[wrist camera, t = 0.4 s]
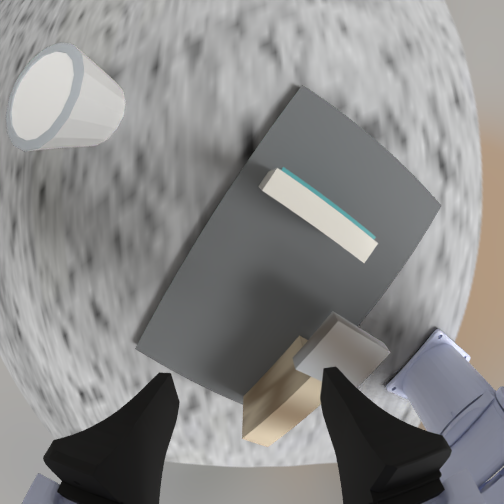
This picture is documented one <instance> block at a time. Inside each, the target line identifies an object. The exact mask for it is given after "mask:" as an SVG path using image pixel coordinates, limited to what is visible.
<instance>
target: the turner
mask: <svg viewBox="0 0 504 504" xmlns="http://www.w3.org/2000/svg"><path fill="white" fill-rule="evenodd" d="M390 353H391V352H390V351H389V349H388V348H387V346H386V345H385V344H384V343H383V342H382V341H380V340H378V339H377V338H375V337H374V336H372V335H370V334H369V333H367V332H366V331H364V330H362V329H361V328H359V327H357V326H356V325H354V324H353V323H351V322H349V321H348V320H346V319H345V318H343V317H341V316H340V315H338V314H337V313H335V312H333V311H332V313H331V314H330V315H329V316H328V317H327V319H326V320H325V321H324V322H323V323H322V325H321V326H320V327H319V328H318V329H317V331H316V332H315V333H314V334H313V335H312V336H311V338H310V339H309V340H307V339H305V338H303V337H301V336H299V337H298V338H297V339H296V340H295V341H294V342H293V344H292V345H291V346H290V347H289V348H288V349H287V350H286V351H285V353H284V354H283V355H282V356H281V357H280V358H279V359H278V360H277V362H276V363H275V364H274V365H273V366H272V367H271V368H270V369H269V370H268V371H267V372H266V373H265V375H264V376H263V377H262V378H261V379H260V380H259V381H258V382H257V383H256V384H255V385H254V386H253V387H252V388H251V389H250V390H249V391H248V392H247V393H246V394H245V395H244V396H243V427H242V439H245V440H247V441H250V442H253V443H257V444H260V445H263V446H266V447H269V446H270V445H271V444H273V443H274V442H275V441H277V440H278V439H279V438H281V437H282V436H283V435H285V434H286V433H287V432H288V431H290V430H291V429H292V428H293V427H295V426H296V425H297V424H298V423H300V422H301V421H302V420H303V419H304V418H306V417H307V416H308V415H309V414H310V413H311V412H313V411H314V410H315V409H316V408H317V407H318V406H319V405H320V404H321V401H320V394H321V386H322V378H323V369H324V368H329V367H337V368H338V369H339V370H340V371H341V372H342V373H343V374H344V375H345V376H346V377H347V379H348V380H349V381H350V382H351V383H352V384H353V385H354V386H355V387H356V388H357V387H358V386H359V385H360V384H361V383H362V382H363V381H364V380H365V379H366V378H367V377H368V376H369V375H370V374H371V373H372V372H373V371H374V370H375V369H376V368H377V367H378V366H379V365H380V364H381V363H382V362H383V360H384V359H385V358H386V357H387V356H388V355H389V354H390Z"/></svg>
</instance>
